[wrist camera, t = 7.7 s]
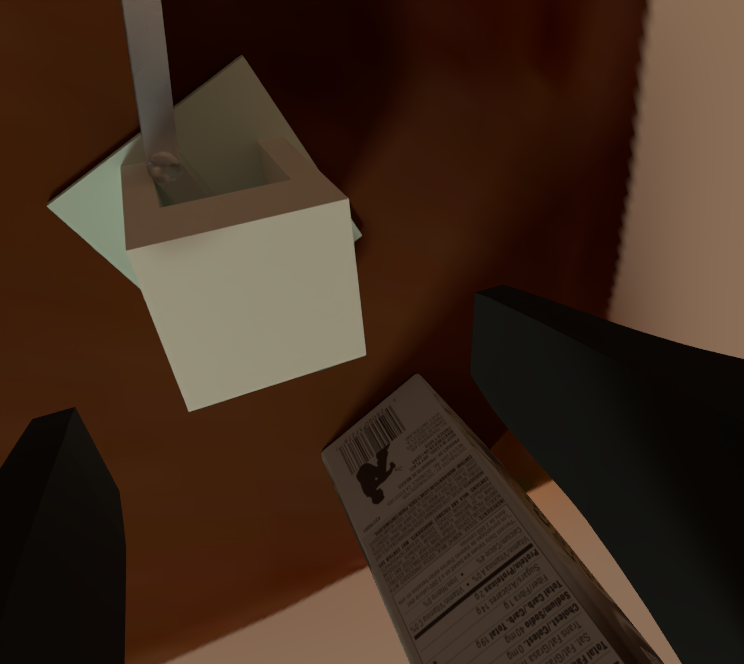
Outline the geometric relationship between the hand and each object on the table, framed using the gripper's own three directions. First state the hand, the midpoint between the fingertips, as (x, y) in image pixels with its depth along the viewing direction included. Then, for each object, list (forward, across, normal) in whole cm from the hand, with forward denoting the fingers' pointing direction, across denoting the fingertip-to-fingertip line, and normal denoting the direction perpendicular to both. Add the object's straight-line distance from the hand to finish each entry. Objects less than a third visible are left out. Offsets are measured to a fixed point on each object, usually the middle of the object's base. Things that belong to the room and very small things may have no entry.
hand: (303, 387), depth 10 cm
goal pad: (+10, 0, 0) cm, 10 cm away
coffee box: (+10, -7, +15) cm, 19 cm away
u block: (+10, 0, 0) cm, 10 cm away
